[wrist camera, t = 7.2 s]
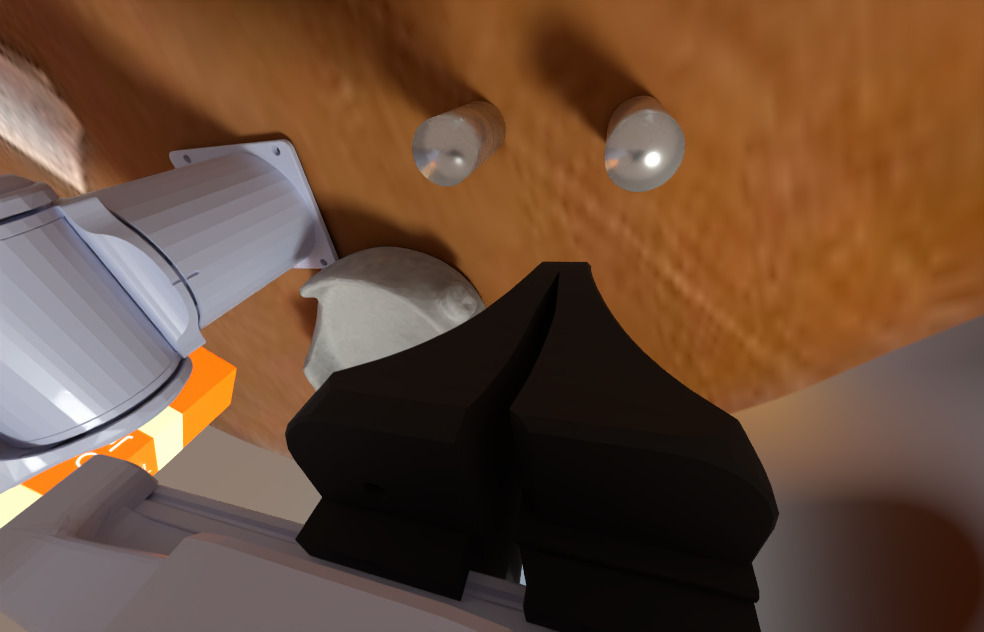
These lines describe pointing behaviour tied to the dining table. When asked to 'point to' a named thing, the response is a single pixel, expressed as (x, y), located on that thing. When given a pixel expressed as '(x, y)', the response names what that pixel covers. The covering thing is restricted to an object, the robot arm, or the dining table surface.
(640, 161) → the spacer posts
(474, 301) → the dish
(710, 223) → the dining table surface
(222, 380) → the orange juice
